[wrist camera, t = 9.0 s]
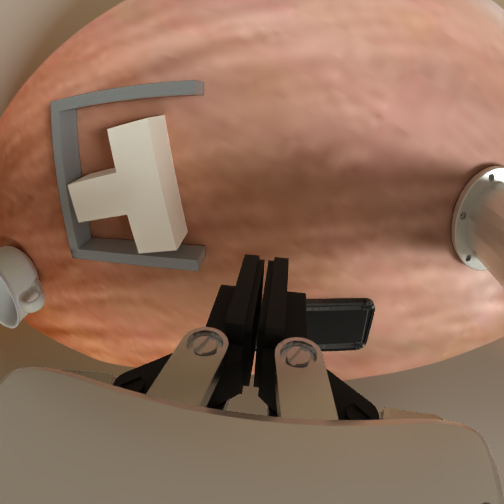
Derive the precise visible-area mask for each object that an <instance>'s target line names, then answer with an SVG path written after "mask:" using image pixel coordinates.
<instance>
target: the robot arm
mask: <svg viewBox="0 0 504 504" xmlns="http://www.w3.org/2000/svg"><path fill="white" fill-rule="evenodd" d="M451 236H452V242H453V246H454V249H455V252H456V253H457V255H458V256H459V258H460V259H461V260H462V261H463V263H464V264H466V265H467V266H468V267H470V268H472V269H475V270H481V271H484V270H488V271H489V272H490V273H491V274H492V275H493V276H494V277H495V279H496V280H497V281H498V282H499V283H500V284H501V286H502V287H503V288H504V166H491V167H487V168H485V169H483V170H482V171H480V172H479V173H477V174H476V175H475V176H474V177H473V178H472V179H471V180H470V181H469V182H468V183H467V185H466V186H465V188H464V189H463V191H462V193H461V194H460V197H459V199H458V201H457V203H456V206H455V210H454V213H453V218H452V225H451ZM288 260H289V259H288V258H278V257H275V259H274V261H270V260H269V262H268V269H267V275H266V281H265V287H264V294H263V300H262V289H263V275H264V260H260V259H259V256H257V255H245V257H244V260H243V263H242V267H241V270H240V273H239V277H238V280H237V283H236V286H228V285H221V287H220V289H219V292H218V295H217V297H216V300H215V303H214V305H213V308H212V311H211V314H210V316H209V319H208V322H207V324H206V327H200V328H196V329H193V330H191V331H190V332H188V333H187V334H186V335H185V336H184V337H183V339H182V340H181V342H180V343H179V345H178V346H177V348H176V349H175V351H174V352H173V353H172V354H169V355H167V356H165V357H162V358H160V359H157V360H155V361H152V362H150V363H148V364H145V365H143V366H140V367H138V368H135V369H133V370H130V371H128V372H125V373H123V374H122V375H120V376H119V377H115V376H114V374H111V373H100V372H90V371H80V370H72V369H63V370H57V369H52V368H44V367H27V368H20V369H17V370H14V371H12V372H11V373H9V374H8V375H7V376H5V377H4V378H3V379H2V380H1V381H0V504H504V499H503V493H502V488H501V483H500V479H499V475H498V471H497V467H496V464H495V461H494V458H493V455H492V453H491V450H490V448H489V446H488V444H487V442H486V440H485V439H484V437H483V436H482V435H481V434H480V433H479V432H478V431H477V430H475V429H474V428H472V427H469V426H467V425H464V424H461V423H457V422H453V421H449V420H443V419H442V418H441V417H439V416H437V415H434V414H427V413H419V412H412V411H405V410H398V409H392V408H386V407H384V409H383V410H379V409H376V407H375V406H374V405H373V404H372V403H371V402H369V401H368V400H367V399H365V398H364V397H363V396H361V395H360V394H359V393H357V392H356V391H355V390H353V389H352V388H351V387H350V386H348V385H347V384H346V383H344V382H343V381H342V380H340V379H339V378H338V377H336V376H335V375H334V374H333V373H331V372H330V371H329V370H327V369H326V366H325V362H324V359H323V355H322V352H321V350H320V348H319V347H318V346H317V345H316V343H314V342H312V341H311V340H308V339H307V324H306V294H305V293H297V292H287V282H288ZM261 303H262V306H261ZM256 342H257V349H256V362H255V375H254V387H259V393H258V396H259V397H260V398H261V399H262V400H263V401H264V402H265V403H266V404H267V416H263V415H254V414H246V413H238V412H231V411H227V408H228V406H229V402H230V399H231V398H232V397H234V396H236V395H238V394H242V389H243V386H249V383H250V378H251V372H252V366H253V360H254V354H255V348H256Z"/></svg>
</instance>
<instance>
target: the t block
mask: <svg viewBox="0 0 504 504" xmlns="http://www.w3.org/2000/svg"><path fill="white" fill-rule="evenodd" d="M107 131H108V137H109V142H110V146H111V151H112V156H113V160H114V165H115V167H114V168H110V169H106V170H102V171H98V172H94V173H90V174H88V175H86V176H84V177H82V178H80V179H78V180H76V181H74V182H72V183H70V184H69V185H68V189H69V192H70V196H71V199H72V203H73V206H74V209H75V212H76V216H77V219H78V222H79V223H80V222H85V221H91V220H97V219H103V218H109V217H115V216H122V215H127V216H128V219H129V223H130V226H131V230H132V233H133V237H134V240H135V243H136V246H137V250H138V253H151V252H162V251H174V250H177V249H178V247H179V246H180V244H181V243H182V241H183V239H184V238H185V236H186V234H187V233H188V230H187V226H186V221H185V217H184V212H183V208H182V203H181V198H180V194H179V189H178V184H177V179H176V174H175V169H174V164H173V159H172V154H171V149H170V143H169V138H168V132H167V127H166V121H165V115H161V116H155V117H149V118H145V119H141V120H137V121H134V122H130V123H126V124H123V125H119V126H116V127H113V128H109V129H107Z"/></svg>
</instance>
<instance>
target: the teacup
mask: <svg viewBox="0 0 504 504" xmlns="http://www.w3.org/2000/svg"><path fill="white" fill-rule="evenodd" d="M44 303H45V294H44V291H43V289H42V287H41V282H40V280H39V277H38V273H37V270H36V267H35V266H34V264H33V262H32V261H31V259H30V258H29V257H28V256H27V255H26V254H25V253H23V252H22V251H20V250H19V249H17V248H15V247H13V246H3V247H0V323H1V324H2V325H4V326H6V327H9V328H15V327H16V326H18V324H19V322H20V321H21V320H22V319H23V318H24V317H25V316H26V315H27V314H28V313H33V312H36V311H38V310H39V309H41V308H42V307H43V305H44Z"/></svg>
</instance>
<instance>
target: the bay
mask: <svg viewBox="0 0 504 504" xmlns="http://www.w3.org/2000/svg"><path fill="white" fill-rule="evenodd" d="M185 95H204V82H201V81H197V80H187V81H172V82H161V83H151V84H142V85H134V86H127V87H120V88H114V89H108V90H102V91H97V92H91V93H86V94H82V95H77V96H72V97H68V98H64V99H60V100H56V101H52V102H51V126H52V140H53V151H54V160H55V168H56V176H57V183H58V190H59V196H60V202H61V207H62V213H63V218H64V223H65V227H66V232H67V236H68V241H69V245H70V249H71V253H72V257H73V258H78V259H86V260H95V261H103V262H112V263H121V264H131V265H140V266H150V267H160V268H170V269H180V270H190V271H199V269H200V267H201V264H202V262H203V260H204V258H205V246H200V245H187V244H180V246H179V247H178V249H177V250H174V251H162V252H151V253H138V250H137V246H136V243H135V241H134V240H121V239H107V238H94V237H91V232H90V227H89V221H85V222H80V223H79V222H78V219H77V216H76V212H75V209H74V206H73V203H72V199H71V196H70V192H69V189H68V185H69V184H70V183H72V182H74V181H76V180H78V179H80V178H82V174H81V165H80V156H79V144H78V130H77V108H81V107H87V106H93V105H99V104H105V103H112V102H119V101H127V100H135V99H144V98H155V97H168V96H185Z"/></svg>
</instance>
